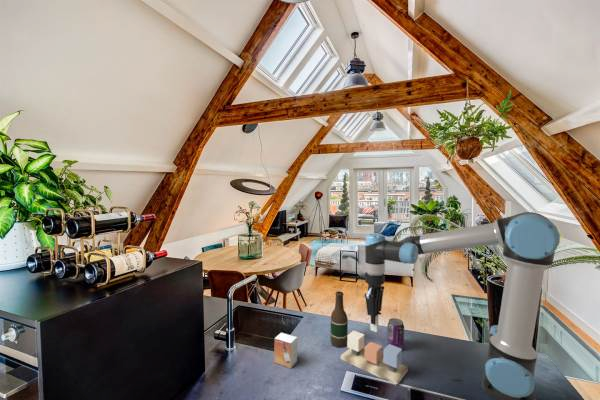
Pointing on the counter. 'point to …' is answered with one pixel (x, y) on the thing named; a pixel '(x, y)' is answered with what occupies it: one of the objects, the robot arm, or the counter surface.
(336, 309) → the beer bottle
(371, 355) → the salmon orange cube
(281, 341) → the small box
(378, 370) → the board
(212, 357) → the counter surface
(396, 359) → the light blue cube
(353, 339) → the cream cube
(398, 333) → the beverage can
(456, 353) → the counter surface
